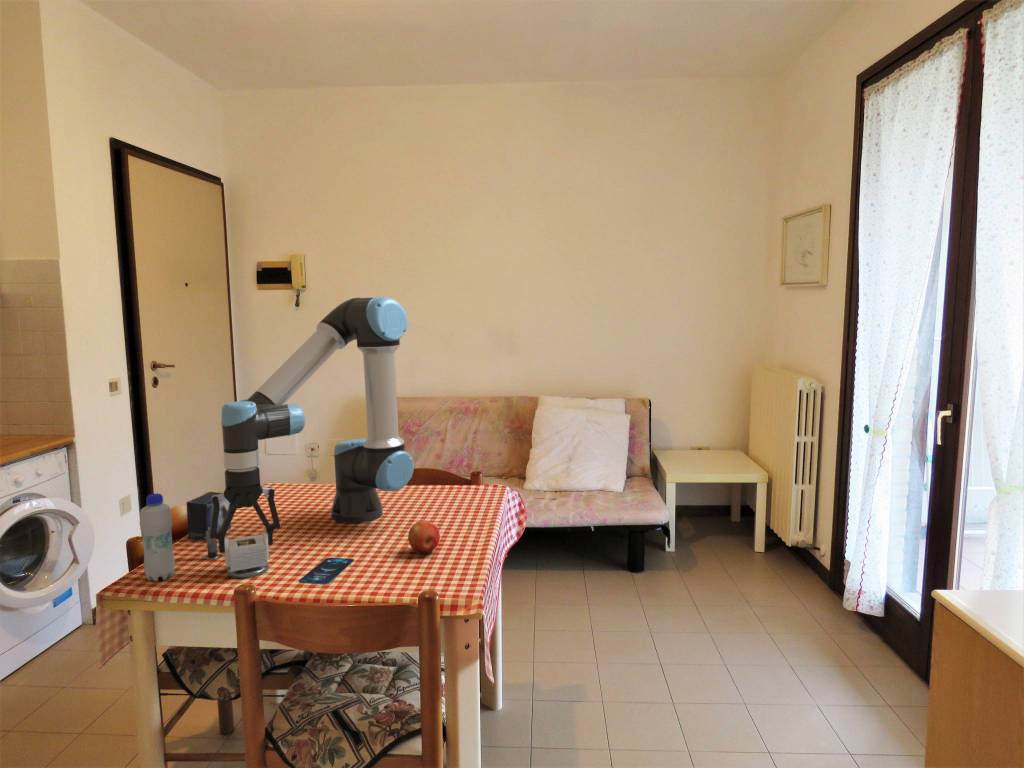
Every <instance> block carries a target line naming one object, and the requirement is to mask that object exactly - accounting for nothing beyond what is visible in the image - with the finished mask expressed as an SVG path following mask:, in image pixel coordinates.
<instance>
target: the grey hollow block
mask: <svg viewBox="0 0 1024 768" xmlns="http://www.w3.org/2000/svg"><path fill="white" fill-rule="evenodd" d="M228 548H229V566H230V571H231V572H232V571H238V570H243V569H249V568H255V567H260V566H266V565H267V562H268V560H267V545H266V542H265V540H264V538H263V534H256V535H250V536H243V537H238V538H231V539H228Z"/></svg>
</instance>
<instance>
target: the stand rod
mask: <svg viewBox="0 0 1024 768" xmlns="http://www.w3.org/2000/svg"><path fill="white" fill-rule="evenodd" d="M206 536H207V540H206V549H207V551H206V552H207V555H206V556H205V560H206V561H214V560H215V561H216V560H218V559H220V558H221V554H220V553H218V545H217V540H218V539H211V538H210V530H207V531H206Z"/></svg>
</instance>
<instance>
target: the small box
mask: <svg viewBox="0 0 1024 768" xmlns="http://www.w3.org/2000/svg"><path fill="white" fill-rule="evenodd" d="M222 493H223V492H214V491H210V492H207V493H205V494H203V495H201V496H199V497H198V496H197V497H196V498H194V499H191V500H189V501H186V502H185V503H186V518H187V520H186V521H187V539H188V540H198V541H207V536H206V531H207V530H210V526H211V519H212V511H213V501H212V495H213V494H216V495H218V494H222ZM219 505H220V510H219V517H218V525H217V532H219V531H220V529H221V526H222V524H223V521H224V519H225V516H226V514H227V511H228V508H229V505H230V502H229V501H228V500H227V499H226V498H224V499H223V501H222V503H221V504H219ZM231 525H232V522H231V523H230V526H229V528H228V530H230V529H232V527H231Z"/></svg>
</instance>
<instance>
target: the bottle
mask: <svg viewBox="0 0 1024 768" xmlns="http://www.w3.org/2000/svg"><path fill="white" fill-rule="evenodd" d="M145 501H146V502H145V503H146V505H145V506H144V507H142V508H141V509H140V513H139V526H140V531H141V532H142V547H143V565H144V566H143V570H144V574H145V577H146V579H147V580H148V581H149V582H150V581H154V582H159V578H160V577H161V578H162V580H163V581H165V580H166V579H168V578H172V577H173V575H174V574H175V569H176V562H175V555H174V550H173V548H174V547H173V534H172V526H173V516H172V515H173V514H172V511H171V507H170V505H168V504H165V503H164V497H163V494H161V493H151V494H148V495H147V496H146V498H145Z"/></svg>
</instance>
